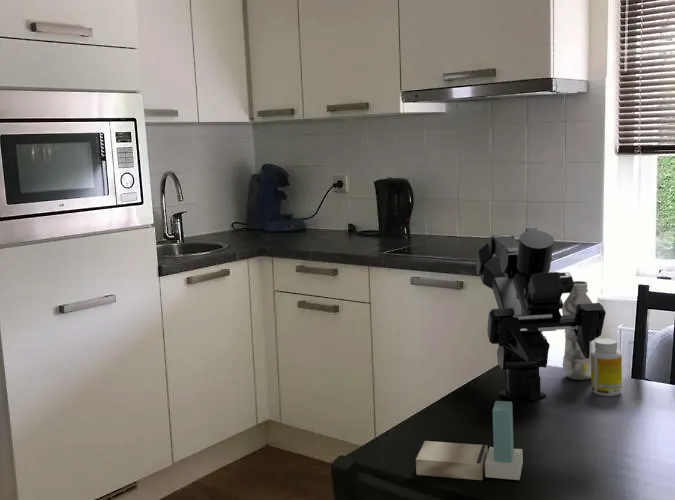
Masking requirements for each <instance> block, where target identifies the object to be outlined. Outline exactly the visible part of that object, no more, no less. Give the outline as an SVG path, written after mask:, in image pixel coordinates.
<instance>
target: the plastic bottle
mask: <svg viewBox="0 0 675 500" xmlns="http://www.w3.org/2000/svg"><path fill="white" fill-rule="evenodd" d="M573 282H574V287H573V289H572V291H571V293H568V294H569V295H568V296H567V297H566V298H565V300H564V302H563V308H562V309H561V312H562V315H575V313H576V307H577V305H578V304H588V303H593V301H592V299H591V298H590V297H589V296H588V295H587V293H588V291H589V289H588V282H587V281H583V280H573ZM564 334H565V335H564V336H565V337H564V338H565V339H564V340H565V342H564V354H563V360H562V369H563V373H564V375H565V376H566V377H567V378H569V379H571V380H578V381H579V380H580V381H583V380H589V379H591V352H592V350H594V347H593V341H590V355H589V359H586V358H585V357H584V355H583V353H582V351H581V349H580V347H579V345H578V343H577V341H576V340H577V336H576V335H575V332H574V329H564Z"/></svg>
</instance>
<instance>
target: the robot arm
mask: <svg viewBox="0 0 675 500" xmlns="http://www.w3.org/2000/svg"><path fill="white" fill-rule="evenodd" d="M554 243H555V239H554V236H553V235H551V234H549V233H548V232H545V231H542V230H539V229H538V227H537V226H536V227H526V228H525V231H524V232H522V233H521V234H520V235H519V238H518V241H517V240H516V239H515V236H514V235H511V234H510V233H509V234H497V235H494V234H493V235H492V234H491V236H488V241H487V243H486V244H484V245H483V247H481V248H480V249H479V250H477V256H476V262H475V266H476V267H475V269H476V274H477V276H479V277H480V280H481V282H482V284H483V285H484V286H486V287H488V288H490V289H492V292H493V294H494V297H495V298H494V299H495V301H496V304H497V308H492V309H491V310H490V311H489V312H488V319H487V320H488V321H487V322H488V323H487V338H488V340H489V341H488V342H490V343H491V345H498V347H497V350H496V357H497V364H498V365H499V367H500V368H501V370H502V371H504V379H505V384H504V385H505V387H504V388H505V389H504V390H501V391H499V395H500V396H502V397H504V398H506V399H509V400H512V401H513V402H516V403H519V404H525V403H528V402H531V401H535V400H539V399H542V398H546V396H547V394H546V393H545V392H542V391H541V376H540V368H547V365H548V361H549V360H548V359H549V349H550V343H549V342H548V340H547V337H546V335H544V334H543V332H554V331H558V330H560V331H561V330H565V329H574V332H575V335H576V336H577V340H576V341H577V343H578V345H579V347H580V349H581V351H582V353H583V355H584V357H585V358H586V359H589V355H590V341H592V342H593V341H594V340H596V339H599V338H600V337H601V335H602V333H603V327H604V323H605V318H606V317H605V316H606V314H607V313H606V310H605V308H604V306H603V305H602V304H601V303H600V302H592V303H588V304H578V305H577V307H576V313H575V315H563V314H561V312H560V310H562V308H563V303H564V302H563V299H562V295H563V294H570V293H571V291H572V289H573V287H574V282H573V281H574V280H573V279H574V278H573V276H572V274H571V273H570V271H561V272H560V271H559V272H558V271H551V272H550V270H551V263H552V262H553V258H552V257H553V251H554V250H553V249H554Z"/></svg>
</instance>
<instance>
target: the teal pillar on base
mask: <svg viewBox="0 0 675 500" xmlns="http://www.w3.org/2000/svg"><path fill="white" fill-rule="evenodd" d="M513 418H514V417H513V401H506V400H505V401H504V400H495V402H494V405H493V408H492V431H493V433H492V434H493V435H492V436H493V441H492V442H493V446H489V448H488V454H487V458H486V461H485V472H484V476H485V478H491V479H492V478H493V479H503V480H514V481H520V479H521V474H522V469H523V463H524V462H523V460H524V458H523V456H524V455H523V454H524V453H523V449H522V448H514V419H513Z"/></svg>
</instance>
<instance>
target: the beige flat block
mask: <svg viewBox="0 0 675 500" xmlns="http://www.w3.org/2000/svg"><path fill="white" fill-rule="evenodd" d="M488 451H489V448H488V444H487V445H486V444H475V443H474V444H472V443H462V442H461V443H460V442H459V443H458V442H445V441H430V440H424V441H423V444H422V446H421V448H420V450H419V452H418V454H417V456H416V458H415V469H416V471H415V472H416V473H415V474H416V475H417V476H428V477H429V476H430V477H439V478H440V477H442V478H451V479H464V480H472V481H473V480H474V481H475V480H477V481H483V478H484V476H485V461H486V458H487V454H488Z"/></svg>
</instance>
